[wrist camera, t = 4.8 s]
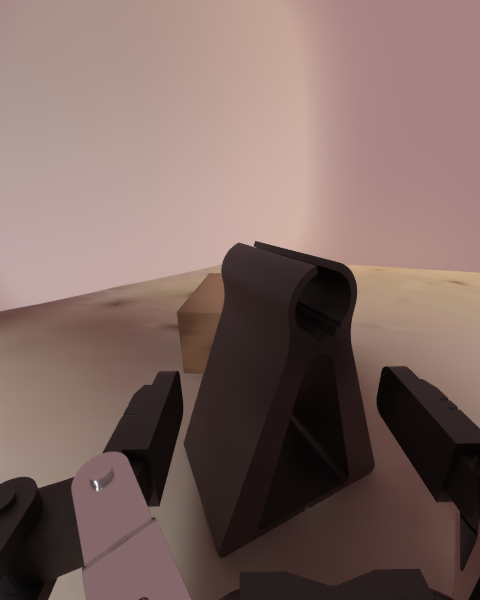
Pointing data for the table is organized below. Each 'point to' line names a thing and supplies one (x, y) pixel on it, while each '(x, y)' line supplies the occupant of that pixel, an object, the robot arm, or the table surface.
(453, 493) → the robot arm
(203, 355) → the walnut block
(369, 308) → the table surface
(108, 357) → the table surface
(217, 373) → the phone stand
